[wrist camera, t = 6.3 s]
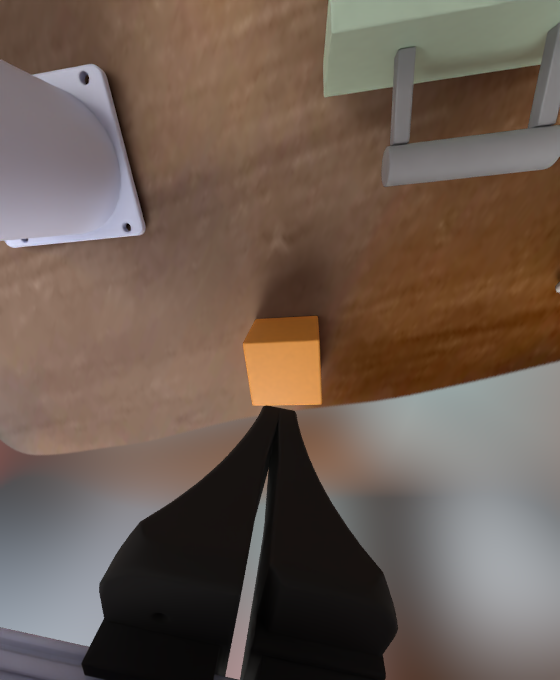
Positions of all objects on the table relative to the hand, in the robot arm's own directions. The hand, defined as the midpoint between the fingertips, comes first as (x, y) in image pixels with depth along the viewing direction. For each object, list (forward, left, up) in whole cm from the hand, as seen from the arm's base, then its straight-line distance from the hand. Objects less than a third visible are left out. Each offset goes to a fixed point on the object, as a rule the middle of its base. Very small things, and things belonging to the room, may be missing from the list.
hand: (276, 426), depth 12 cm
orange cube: (0, 0, -8) cm, 8 cm away
